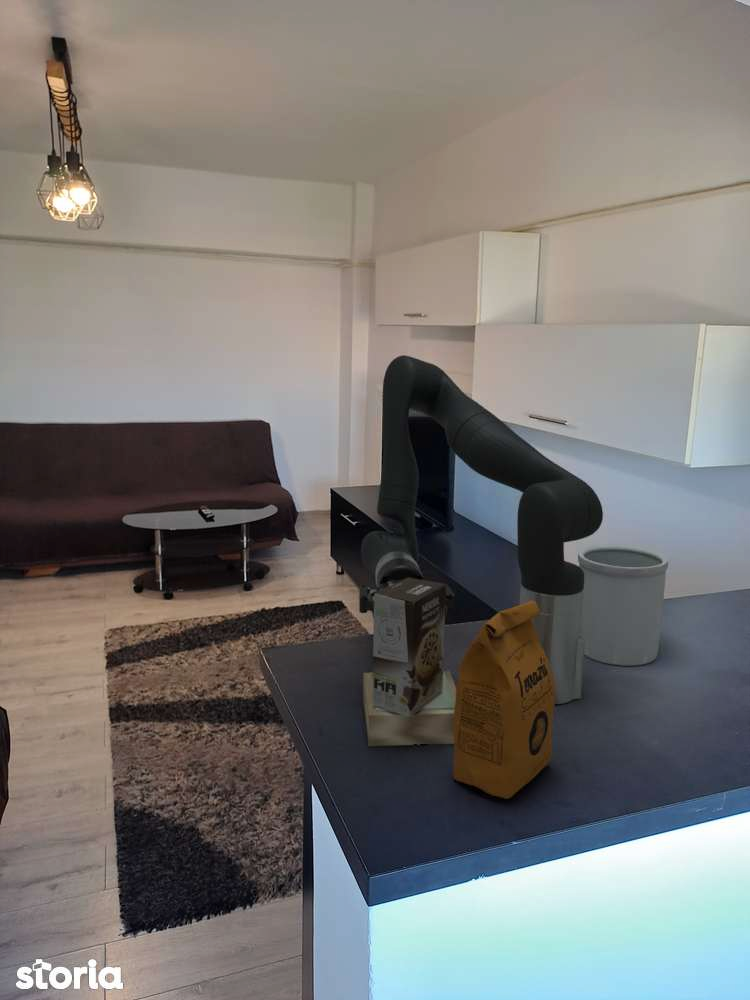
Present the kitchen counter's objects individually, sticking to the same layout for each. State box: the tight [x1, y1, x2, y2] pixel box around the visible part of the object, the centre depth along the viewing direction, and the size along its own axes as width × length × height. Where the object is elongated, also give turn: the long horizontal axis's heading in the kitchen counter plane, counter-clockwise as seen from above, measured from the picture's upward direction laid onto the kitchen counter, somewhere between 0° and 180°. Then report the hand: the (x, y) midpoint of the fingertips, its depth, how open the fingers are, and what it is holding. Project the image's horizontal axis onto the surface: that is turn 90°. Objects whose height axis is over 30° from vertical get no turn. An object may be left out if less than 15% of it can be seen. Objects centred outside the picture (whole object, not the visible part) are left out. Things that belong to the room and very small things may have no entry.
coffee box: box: [372, 577, 446, 717], centre depth 102 cm, size 9×6×16 cm
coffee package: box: [452, 601, 556, 800], centre depth 92 cm, size 10×12×22 cm
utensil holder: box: [577, 544, 669, 667], centre depth 131 cm, size 15×15×18 cm
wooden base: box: [362, 670, 457, 747], centre depth 107 cm, size 13×13×5 cm
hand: (411, 615), depth 107 cm, fingers open, 8 cm apart
